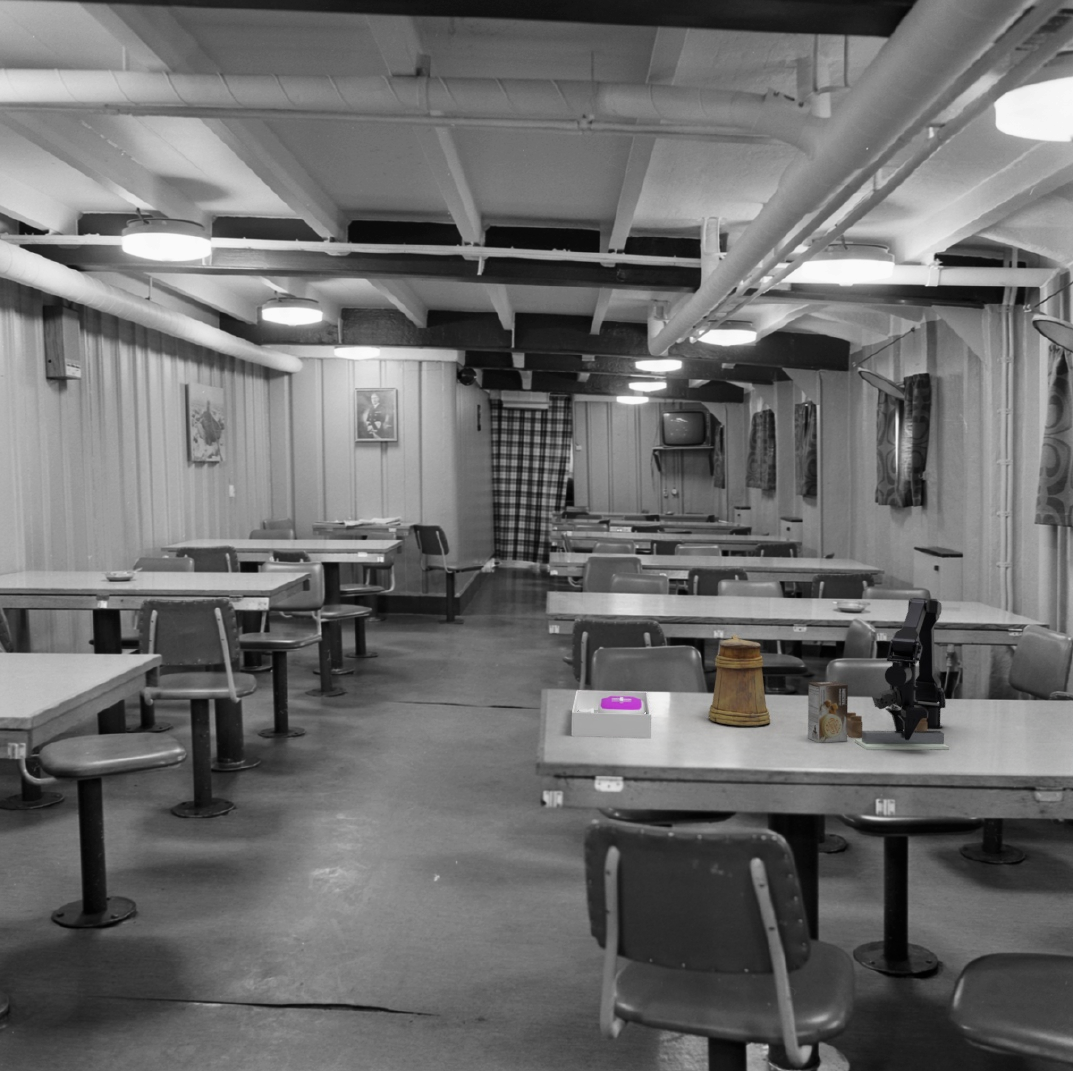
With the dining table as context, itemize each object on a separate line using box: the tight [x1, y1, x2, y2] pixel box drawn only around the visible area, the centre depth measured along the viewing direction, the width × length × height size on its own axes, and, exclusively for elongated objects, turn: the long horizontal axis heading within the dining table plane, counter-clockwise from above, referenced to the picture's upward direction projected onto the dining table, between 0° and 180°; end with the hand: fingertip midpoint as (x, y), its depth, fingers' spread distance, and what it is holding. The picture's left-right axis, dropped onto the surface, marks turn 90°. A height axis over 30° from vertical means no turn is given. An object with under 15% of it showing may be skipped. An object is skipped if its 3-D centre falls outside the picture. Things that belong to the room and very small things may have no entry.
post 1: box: [847, 711, 863, 739], centre depth 302 cm, size 3×7×6 cm, turn 3°
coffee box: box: [807, 681, 849, 744], centre depth 295 cm, size 9×6×16 cm
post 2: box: [914, 718, 928, 731], centre depth 303 cm, size 3×7×6 cm, turn 3°
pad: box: [854, 738, 950, 751], centre depth 290 cm, size 23×9×1 cm, turn 93°
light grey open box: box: [571, 689, 652, 739], centre depth 313 cm, size 22×35×7 cm, turn 176°
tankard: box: [708, 634, 771, 726], centre depth 321 cm, size 18×24×25 cm
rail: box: [861, 730, 945, 744], centre depth 290 cm, size 22×3×3 cm, turn 93°
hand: (903, 737), depth 290 cm, fingers open, 5 cm apart
